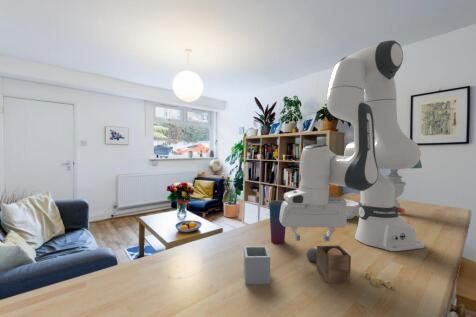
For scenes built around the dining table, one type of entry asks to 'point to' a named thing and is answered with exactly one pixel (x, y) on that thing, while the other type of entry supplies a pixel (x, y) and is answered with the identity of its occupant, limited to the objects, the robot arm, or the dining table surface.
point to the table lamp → (398, 183)
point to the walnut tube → (333, 265)
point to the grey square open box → (256, 265)
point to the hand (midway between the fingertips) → (311, 240)
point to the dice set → (373, 280)
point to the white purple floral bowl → (351, 209)
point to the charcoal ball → (312, 254)
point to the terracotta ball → (334, 252)
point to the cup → (276, 223)
